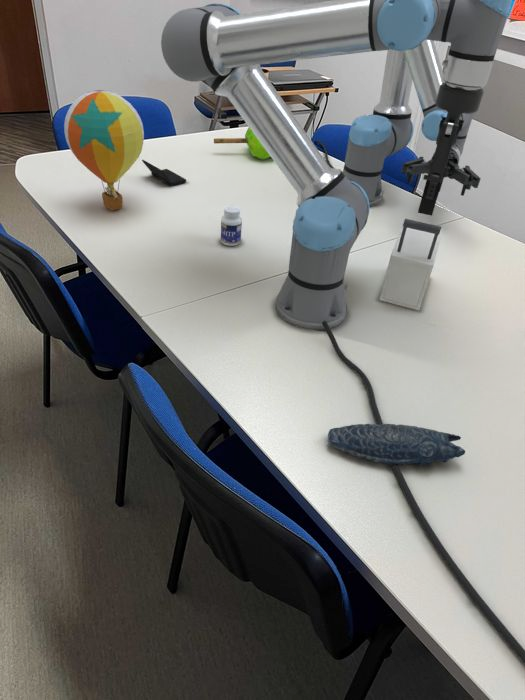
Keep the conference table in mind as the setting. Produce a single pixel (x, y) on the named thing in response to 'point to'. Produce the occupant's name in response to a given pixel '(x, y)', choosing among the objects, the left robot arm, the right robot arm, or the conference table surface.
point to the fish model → (395, 443)
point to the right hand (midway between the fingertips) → (436, 184)
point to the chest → (405, 284)
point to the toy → (105, 138)
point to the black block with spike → (165, 175)
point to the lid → (417, 244)
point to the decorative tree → (252, 143)
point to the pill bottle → (231, 226)
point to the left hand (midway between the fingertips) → (429, 201)
